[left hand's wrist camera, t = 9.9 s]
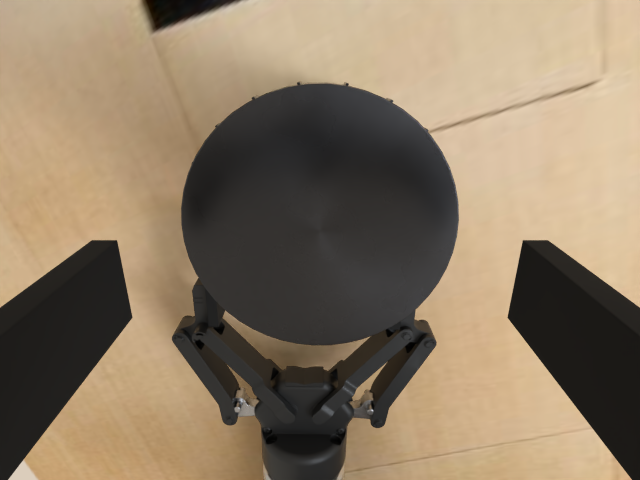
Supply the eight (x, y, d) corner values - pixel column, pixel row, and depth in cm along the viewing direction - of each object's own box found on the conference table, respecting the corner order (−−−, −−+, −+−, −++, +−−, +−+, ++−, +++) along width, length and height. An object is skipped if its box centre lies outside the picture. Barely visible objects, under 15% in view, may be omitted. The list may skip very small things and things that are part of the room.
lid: (137, 187, 18) (120, 197, 16) (357, 18, 15) (361, 12, 14) (292, 362, 21) (290, 384, 20) (492, 247, 19) (506, 262, 17)
